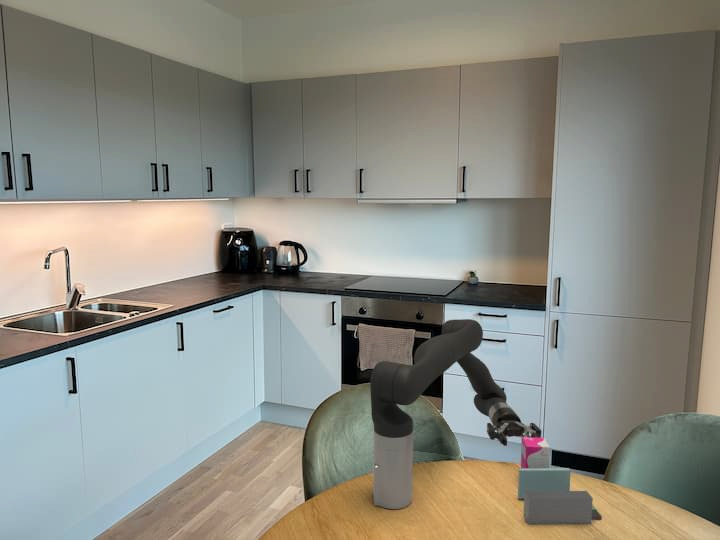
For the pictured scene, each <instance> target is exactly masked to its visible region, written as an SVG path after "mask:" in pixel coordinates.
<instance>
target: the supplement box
mask: <svg viewBox="0 0 720 540" xmlns="http://www.w3.org/2000/svg"><path fill="white" fill-rule="evenodd" d="M520 450H521V451H520V453H521V454H520V468H550V455H551V454H550V451H551V447H550V445H549V444H548V442H547V440H546V439H545V437H541V438H535V437H522V438H521V449H520Z"/></svg>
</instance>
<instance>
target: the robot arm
mask: <svg viewBox="0 0 720 540" xmlns="http://www.w3.org/2000/svg"><path fill="white" fill-rule="evenodd" d="M483 338H484V330H483V327H482V326H481V323H480V322H478V321H477V320H475V319H468V318H467V319H466V318H465V319H449V320H446V321H445V322H444V323H443V325H442V327H441V334H440V335H436V336H433V337H431V338H429V339H428V340H426V341H425V342H422V343H421V344H420V345H419V346H418V347H417V348H416V350H415V353H414V355H413V356H414V358H413V360H414V361H413V362H414V364H406V363H405V364H404V363H400V362H393V361H387V360H381V361H379V362H377V363H376V364H375V365H374V367H373V369H372V372H371V376H370V382H369V383H370V385H369V386H370V407H371V411H370V412H371V419H372V420H371V421H372V424H373V456H372V496H373V505H374V506H377V507H378V506H379V507H381V508H384V509H388V510H390V509H391V510H399V509H404V508H406V507H408V506H409V505H410V504H411V503H412V501H413V468H414V467H413V463H414V461H413V458H414V457H413V455H414V454H413V453H414V420H413V418H412V417H411V416H410V415H409V414H408V413H407V412H405V411H404V410H402V409H401V408H400V407H399V406H398V405H400V406H410V405H412V404H413V403H415V402H416V401H417V400H418V399H419V398H420V397H421V395H422V394H423V393H424V392H425V391H426V390H427V388H428V387H429V386H430V385H431V384H432V383H434V381H436V379H437V378H438V377H440V376H441V375H443V374H444V373H445V372H447V370H449V369H450V368H451V367H452V366H453V365H454V364H455V363H457V364H458V365H459V366H460V368H461V369H462V370H463V372H464V373H465V375H466V377H467V379H468V382H469V383H470V385H471V387H472V389H473V391H474V392H475V393H476V394H475V395H474V397H473V404H474V406H475V408H476V410H477V411H478V412H479V413H480V414H482V415H484V416H486V417H488V418H489V420H490V422H487V423H486V433H487V435H488V437H489V439H490V440H491V441H494V440H495V439H496V440H497V441H498V442H499V443H500V444H501V445H503V446H504V447H507V445H508V438H510V437H516V438H521V439H522V437H535V438H542V431H543V430H542V429H541V428H540V427H539V426H538V425H537V424H536V423H534V422H530V423H529V425H526V424H525V423H522V420H521V418H520V417H519V415H518V414H517V412H515V410H514V409H513V408H512V407H511V406H510V405H508V403H507V394H506V392H505V391H504V390H503V388H502V387H500V385H499V384H497V383H496V382H495V380H494V379H493V377H492V374H491V372H490V370H489V368H488V367H487V365H486V364H485V362H484V361H482V360H481V359H480V358H478V357H477V356H476V355H475V354H473V352H474V351H476V350H478V349H479V347H480V346H481V344H482V342H483Z"/></svg>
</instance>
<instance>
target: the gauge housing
mask: <svg viewBox="0 0 720 540" xmlns="http://www.w3.org/2000/svg"><path fill="white" fill-rule="evenodd" d="M593 499H594V498H593V497H592V495H591V494H590V493H589V492H588V491H587V490H570V491H525V494H524V498H523V501H524V502H523V517H524V520H525V521H526V523H527V525H585V524H586V525H588V524H590V525H591V524H592V521H594V520H595V521H599V520H600V521H601V520H603V517H602V514H600V512H599V511H598V510H597V508H596V507H595V506H594V504H593Z"/></svg>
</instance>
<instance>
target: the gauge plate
mask: <svg viewBox="0 0 720 540" xmlns="http://www.w3.org/2000/svg"><path fill="white" fill-rule="evenodd" d="M517 480H518V481H517V497H518V499H521V500H522V499H524V494H525V491H571V490H570V489H571V488H570V487H571V486H570V485H571V469H570V468H569V467H564V468H563V467H561V468H560V467H559V468H558V467H556V468H551V467H549V468H521V467H520V468H518V479H517Z"/></svg>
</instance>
